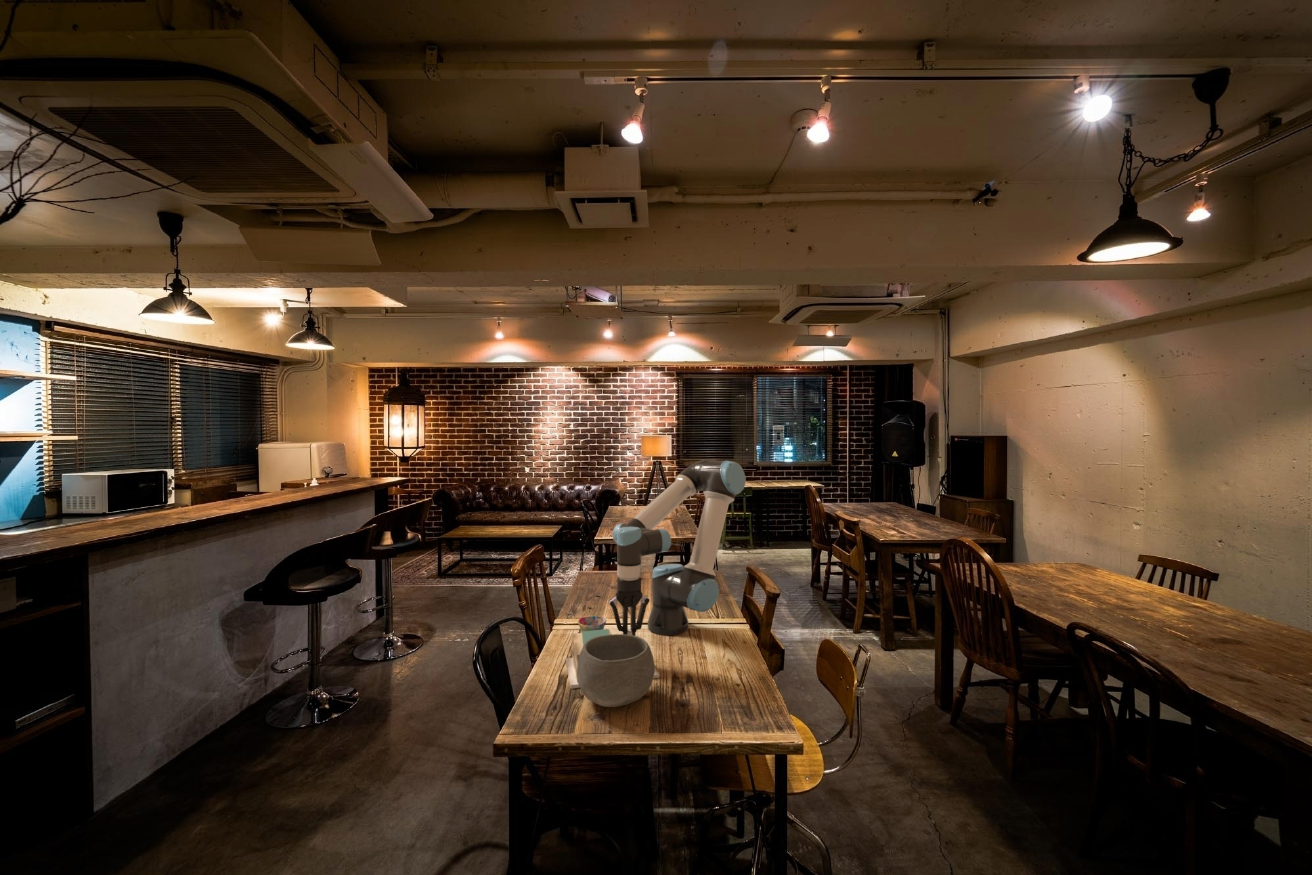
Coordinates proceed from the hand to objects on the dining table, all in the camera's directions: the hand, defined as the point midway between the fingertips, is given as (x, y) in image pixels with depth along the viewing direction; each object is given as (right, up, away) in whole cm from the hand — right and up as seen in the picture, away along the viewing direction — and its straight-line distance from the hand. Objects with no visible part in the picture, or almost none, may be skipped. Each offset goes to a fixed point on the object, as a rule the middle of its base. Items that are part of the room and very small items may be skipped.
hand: (629, 651), depth 163 cm
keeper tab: (-9, +7, -10) cm, 15 cm away
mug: (-12, -4, +9) cm, 16 cm away
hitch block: (-5, -4, -4) cm, 8 cm away
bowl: (-2, -4, -22) cm, 23 cm away
